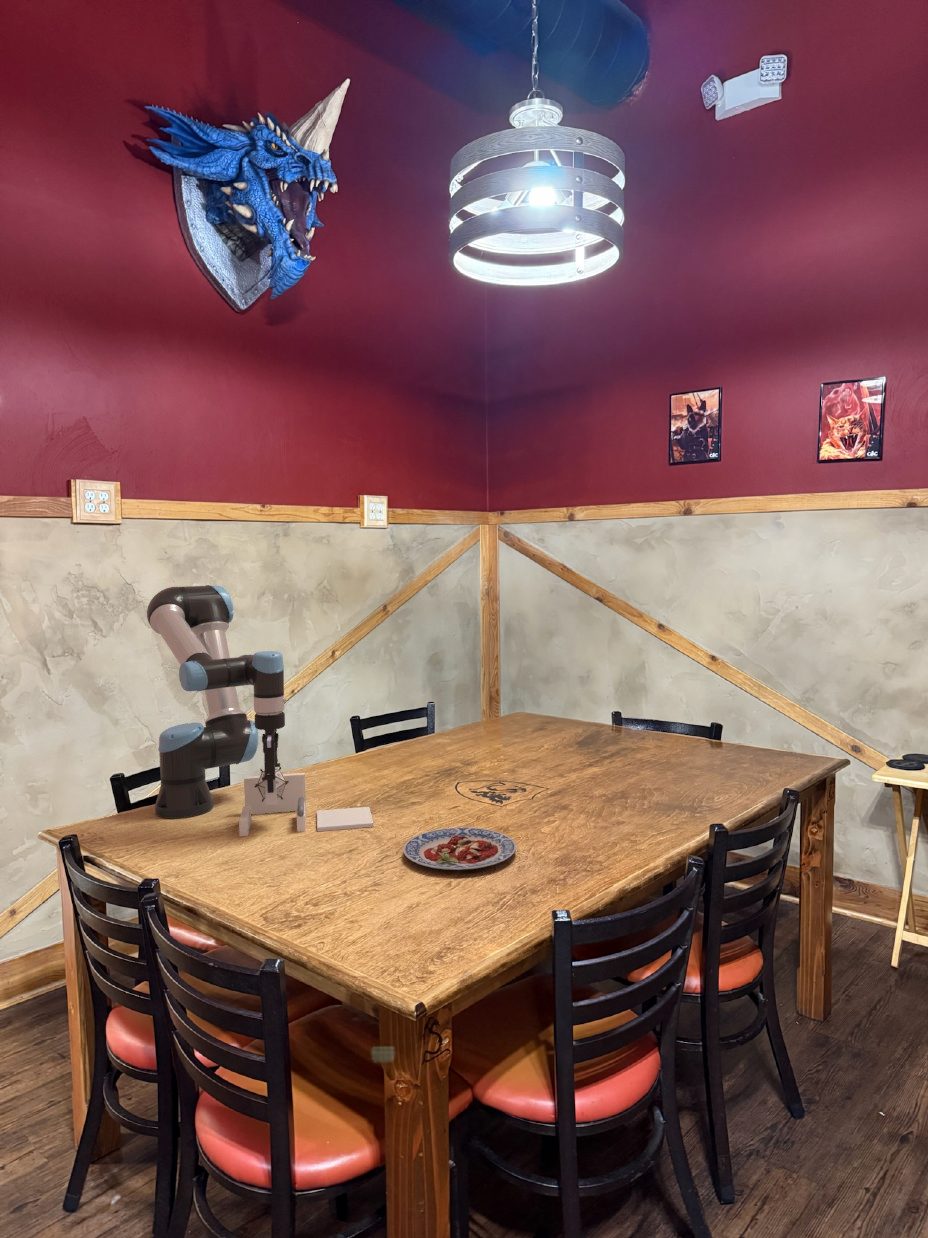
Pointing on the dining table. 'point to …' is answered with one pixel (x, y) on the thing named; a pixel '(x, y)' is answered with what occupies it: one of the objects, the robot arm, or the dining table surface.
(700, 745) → the dining table surface
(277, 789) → the game die
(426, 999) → the dining table surface
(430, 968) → the dining table surface
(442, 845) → the ceramic plate
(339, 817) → the mat
